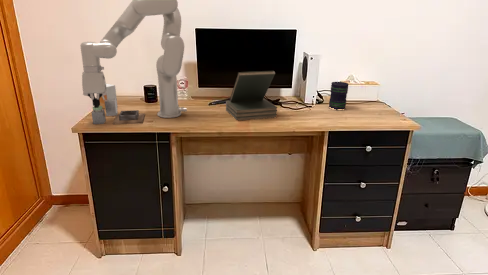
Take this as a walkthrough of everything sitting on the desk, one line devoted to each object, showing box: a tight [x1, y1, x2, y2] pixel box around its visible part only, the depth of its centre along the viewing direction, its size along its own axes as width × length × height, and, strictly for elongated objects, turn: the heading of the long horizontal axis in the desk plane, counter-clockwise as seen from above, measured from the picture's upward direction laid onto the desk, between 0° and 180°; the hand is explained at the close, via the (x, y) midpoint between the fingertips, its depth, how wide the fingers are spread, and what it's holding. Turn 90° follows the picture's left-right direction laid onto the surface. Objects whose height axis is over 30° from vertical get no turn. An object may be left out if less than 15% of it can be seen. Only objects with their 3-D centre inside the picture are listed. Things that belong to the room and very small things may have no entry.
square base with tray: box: [112, 109, 146, 125], centre depth 176 cm, size 14×14×4 cm
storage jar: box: [328, 81, 349, 109], centre depth 203 cm, size 10×10×15 cm
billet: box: [104, 99, 119, 117], centre depth 183 cm, size 5×5×8 cm
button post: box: [91, 108, 107, 125], centre depth 170 cm, size 5×5×6 cm
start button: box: [92, 106, 104, 112], centre depth 170 cm, size 4×4×7 cm
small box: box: [100, 83, 118, 110], centre depth 194 cm, size 8×6×13 cm
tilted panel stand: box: [225, 70, 278, 121], centre depth 186 cm, size 23×20×25 cm
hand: (96, 106), depth 168 cm, fingers closed
